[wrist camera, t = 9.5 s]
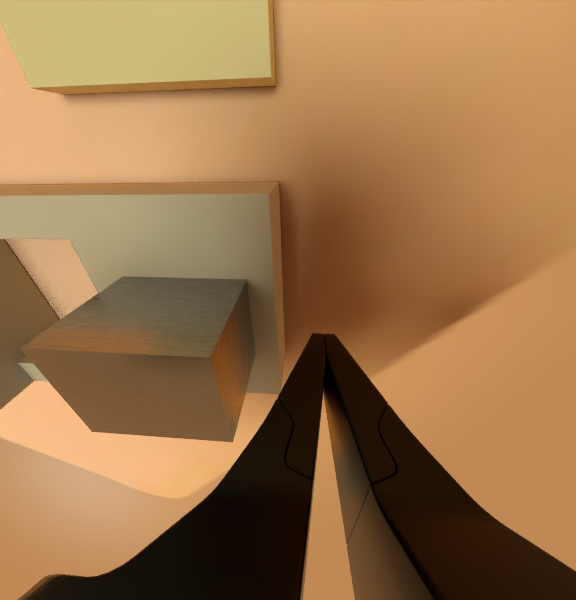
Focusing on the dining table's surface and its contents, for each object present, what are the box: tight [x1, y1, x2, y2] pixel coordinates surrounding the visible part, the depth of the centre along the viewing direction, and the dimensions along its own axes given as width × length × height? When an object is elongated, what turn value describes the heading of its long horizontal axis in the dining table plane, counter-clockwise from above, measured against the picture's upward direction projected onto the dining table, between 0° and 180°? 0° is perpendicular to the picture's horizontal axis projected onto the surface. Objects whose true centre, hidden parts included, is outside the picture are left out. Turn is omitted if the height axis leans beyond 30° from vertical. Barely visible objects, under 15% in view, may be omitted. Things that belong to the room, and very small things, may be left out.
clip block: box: [20, 276, 256, 442], centre depth 9 cm, size 5×4×4 cm
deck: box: [0, 182, 285, 409], centre depth 11 cm, size 16×10×5 cm, turn 91°
